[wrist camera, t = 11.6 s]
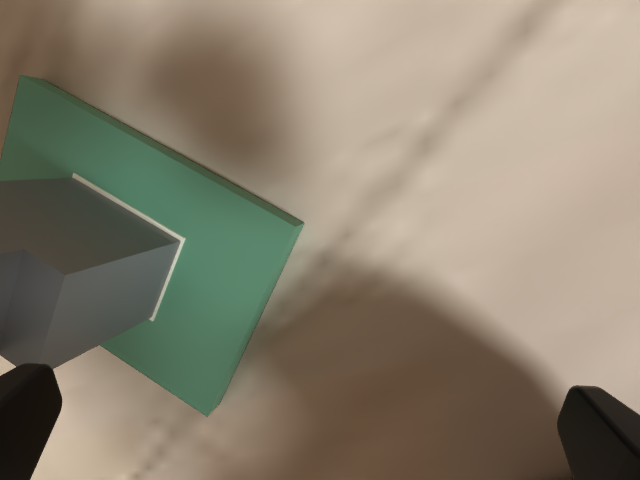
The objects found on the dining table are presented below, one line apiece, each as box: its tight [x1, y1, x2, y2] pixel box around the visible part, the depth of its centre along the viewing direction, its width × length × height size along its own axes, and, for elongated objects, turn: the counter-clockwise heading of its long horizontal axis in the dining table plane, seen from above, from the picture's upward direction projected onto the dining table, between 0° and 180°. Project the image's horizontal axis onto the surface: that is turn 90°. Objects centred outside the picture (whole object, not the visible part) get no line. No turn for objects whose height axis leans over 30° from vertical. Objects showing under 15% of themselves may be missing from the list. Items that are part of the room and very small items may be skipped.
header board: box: [0, 75, 304, 417], centre depth 21 cm, size 16×11×5 cm
